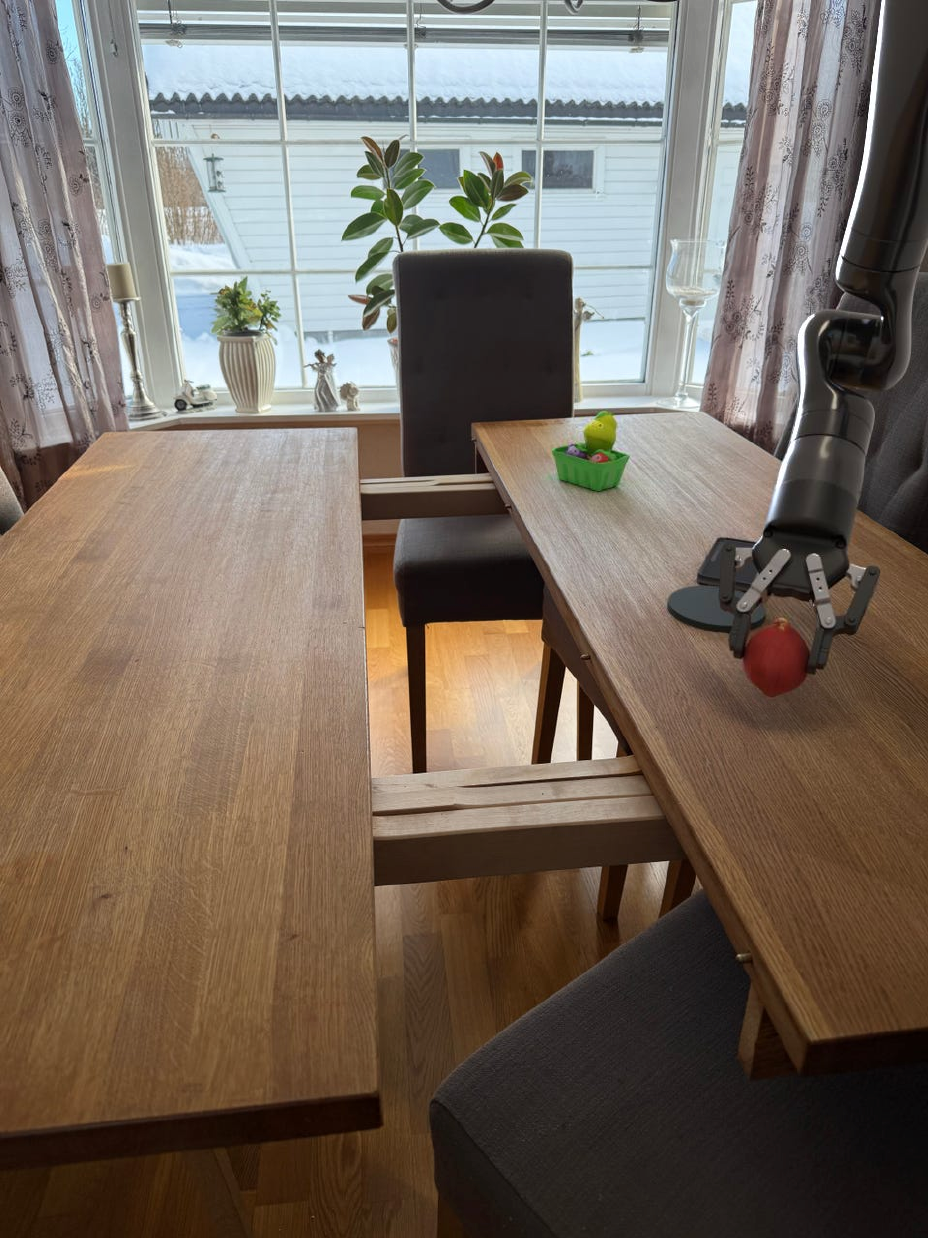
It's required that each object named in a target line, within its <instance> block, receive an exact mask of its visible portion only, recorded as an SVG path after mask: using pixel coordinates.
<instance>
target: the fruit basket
mask: <svg viewBox="0 0 928 1238" xmlns="http://www.w3.org/2000/svg"><path fill="white" fill-rule="evenodd" d="M614 416H615V415H614V413H613V412H608V411H606V410H603V411H599V412H598V414H596V416H595V417H594V418H593V420H592V421H590V422H589V423H588V424H587V425H586V426H585V427H584V428H583V430H582V434H583V438H584V439H583V440H584V442H573V443H571V444H568V445H567V444H566V445H563V446H557V447H554V448H552V449H551V453H552V456H553V459H554V463H555V467H556V472H557V477H558V480H560V481H564V482H568V483H569V484H574V485H577V486H580V487H583V488H585V489H590V490H593V491H597V492H601V491H603V490H607V489H611V488H613V487H618V486H619V484H620V482H621V480H622V477H623V474H624V471H625V468H626V466H627V463H628V462H629V460H630V458H631V455H630V454H627V453H623V452H621V451H617V450H613V448H614V445H615V443H616V438H617V432H616V431H617V427H618V422H617V420H616V419H615V417H614Z"/></svg>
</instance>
